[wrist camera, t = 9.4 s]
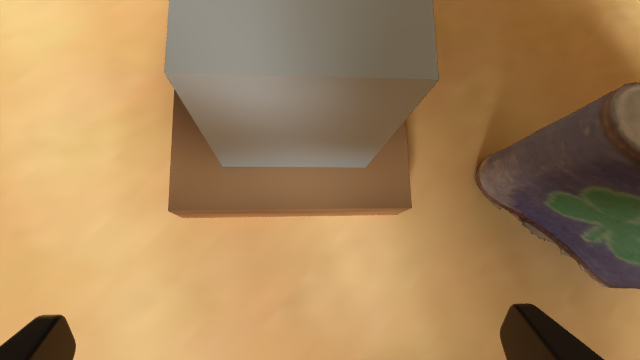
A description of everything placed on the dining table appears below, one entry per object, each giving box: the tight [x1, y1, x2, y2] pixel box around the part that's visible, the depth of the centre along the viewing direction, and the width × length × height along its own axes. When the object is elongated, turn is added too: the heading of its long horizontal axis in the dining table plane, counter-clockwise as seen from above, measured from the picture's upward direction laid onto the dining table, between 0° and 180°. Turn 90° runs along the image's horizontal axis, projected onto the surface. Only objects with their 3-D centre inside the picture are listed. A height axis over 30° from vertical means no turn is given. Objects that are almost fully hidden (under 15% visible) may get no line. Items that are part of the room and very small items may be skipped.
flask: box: [475, 83, 640, 289], centre depth 15 cm, size 9×3×11 cm, turn 52°
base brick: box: [168, 89, 412, 218], centre depth 19 cm, size 10×10×3 cm
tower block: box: [164, 0, 439, 168], centre depth 14 cm, size 6×6×8 cm
